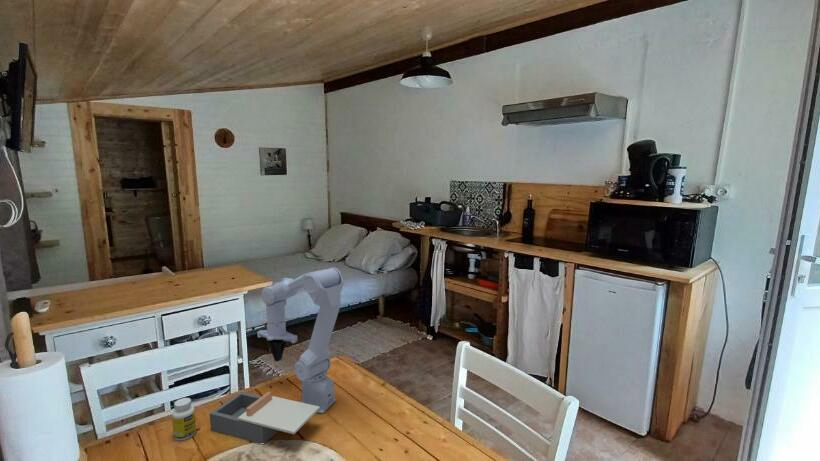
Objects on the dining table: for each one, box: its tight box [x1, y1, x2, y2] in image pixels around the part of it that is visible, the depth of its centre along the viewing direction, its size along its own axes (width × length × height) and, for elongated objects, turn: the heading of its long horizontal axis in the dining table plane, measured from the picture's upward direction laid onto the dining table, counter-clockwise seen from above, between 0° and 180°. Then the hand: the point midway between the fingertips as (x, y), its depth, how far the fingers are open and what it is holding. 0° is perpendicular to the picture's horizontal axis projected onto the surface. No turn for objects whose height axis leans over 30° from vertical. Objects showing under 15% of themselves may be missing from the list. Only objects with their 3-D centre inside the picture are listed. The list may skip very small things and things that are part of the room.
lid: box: [238, 391, 320, 435], centre depth 111 cm, size 18×12×3 cm, turn 70°
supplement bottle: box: [171, 397, 197, 441], centre depth 110 cm, size 5×5×10 cm
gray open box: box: [209, 391, 280, 444], centre depth 115 cm, size 18×12×5 cm, turn 70°
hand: (278, 359), depth 135 cm, fingers closed
